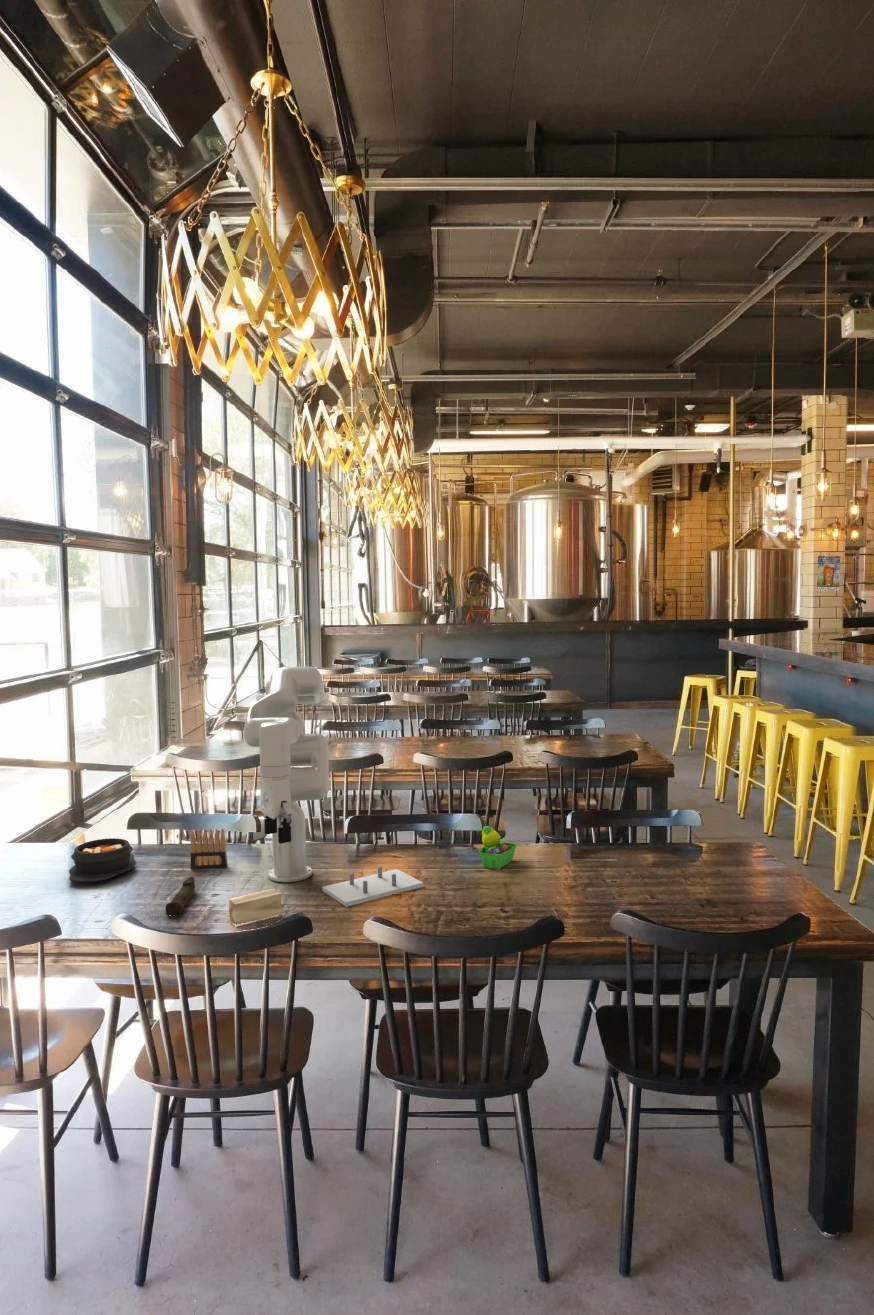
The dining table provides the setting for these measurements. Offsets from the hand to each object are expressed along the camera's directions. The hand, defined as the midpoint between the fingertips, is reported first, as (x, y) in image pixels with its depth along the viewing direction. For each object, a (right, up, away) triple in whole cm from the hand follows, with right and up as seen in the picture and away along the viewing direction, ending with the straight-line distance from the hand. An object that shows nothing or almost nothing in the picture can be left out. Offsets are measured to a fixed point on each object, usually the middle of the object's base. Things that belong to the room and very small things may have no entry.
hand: (277, 837), depth 206 cm
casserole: (-59, -19, +36) cm, 72 cm away
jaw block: (-6, -21, 0) cm, 21 cm away
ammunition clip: (-28, -18, +39) cm, 51 cm away
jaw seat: (+23, -18, +19) cm, 35 cm away
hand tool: (-28, -20, +11) cm, 36 cm away
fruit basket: (+58, -16, +38) cm, 71 cm away
